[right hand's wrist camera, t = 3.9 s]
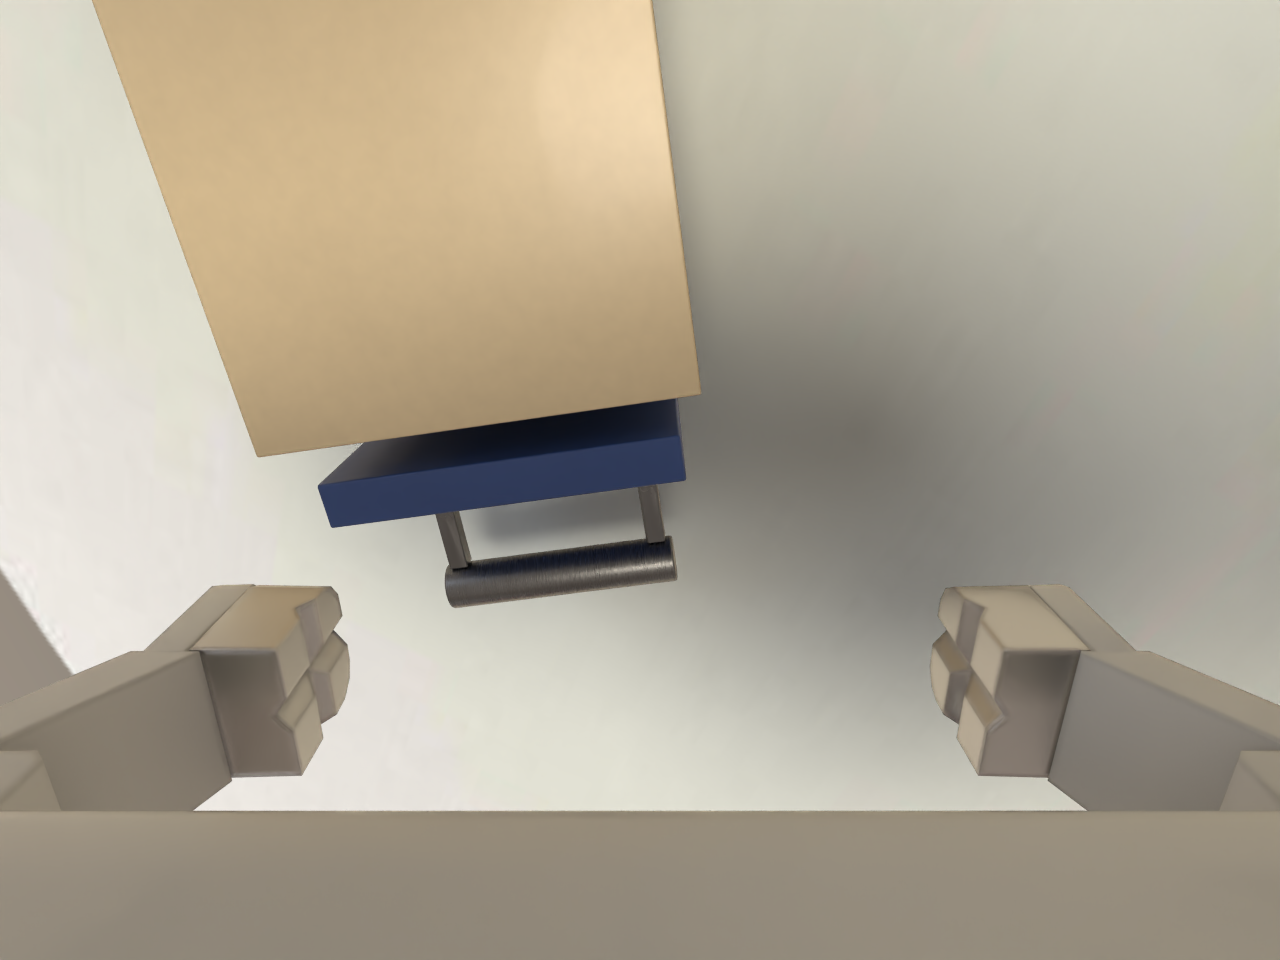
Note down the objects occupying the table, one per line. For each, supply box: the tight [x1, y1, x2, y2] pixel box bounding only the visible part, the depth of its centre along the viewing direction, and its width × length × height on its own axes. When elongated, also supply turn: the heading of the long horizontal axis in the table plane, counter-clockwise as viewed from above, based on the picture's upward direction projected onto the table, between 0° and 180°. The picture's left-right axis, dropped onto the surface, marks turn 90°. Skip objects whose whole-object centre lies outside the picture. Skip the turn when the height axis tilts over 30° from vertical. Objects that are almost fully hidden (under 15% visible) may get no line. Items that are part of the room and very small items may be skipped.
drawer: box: [318, 398, 686, 608], centre depth 20 cm, size 26×9×9 cm, turn 9°
